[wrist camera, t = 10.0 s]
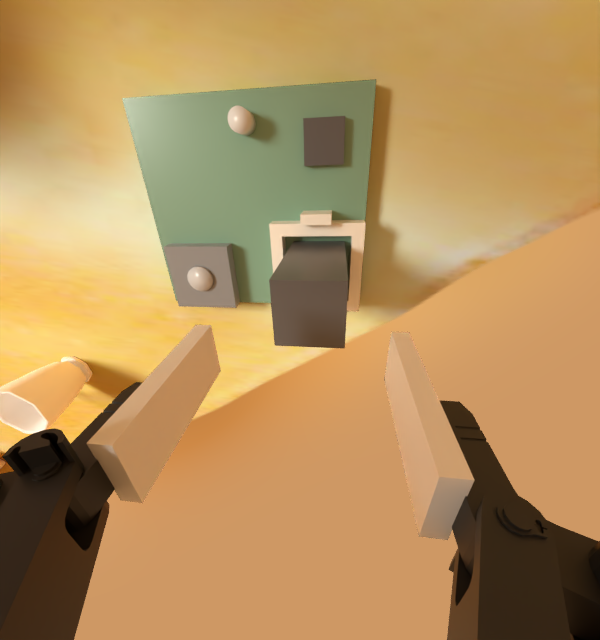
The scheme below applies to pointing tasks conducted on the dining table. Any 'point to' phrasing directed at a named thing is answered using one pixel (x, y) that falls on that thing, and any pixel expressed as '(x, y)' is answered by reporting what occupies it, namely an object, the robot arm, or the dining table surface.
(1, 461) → the soap bottle
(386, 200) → the dining table surface
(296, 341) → the plug
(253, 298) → the board
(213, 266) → the grey push button
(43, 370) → the cup
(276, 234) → the frame
